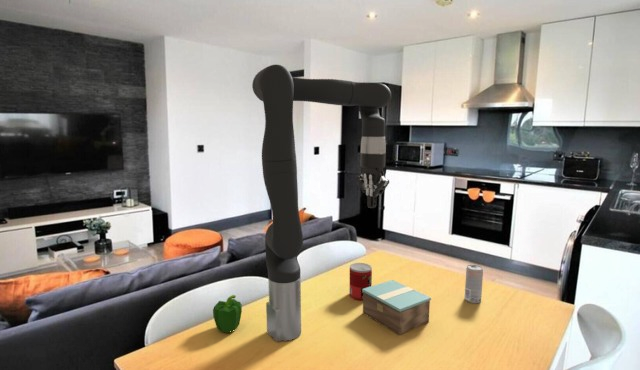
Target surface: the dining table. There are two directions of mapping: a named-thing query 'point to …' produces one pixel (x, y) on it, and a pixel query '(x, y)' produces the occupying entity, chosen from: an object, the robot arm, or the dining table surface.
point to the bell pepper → (227, 314)
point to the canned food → (359, 279)
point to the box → (396, 315)
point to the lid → (396, 295)
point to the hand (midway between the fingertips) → (371, 207)
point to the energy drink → (473, 283)
